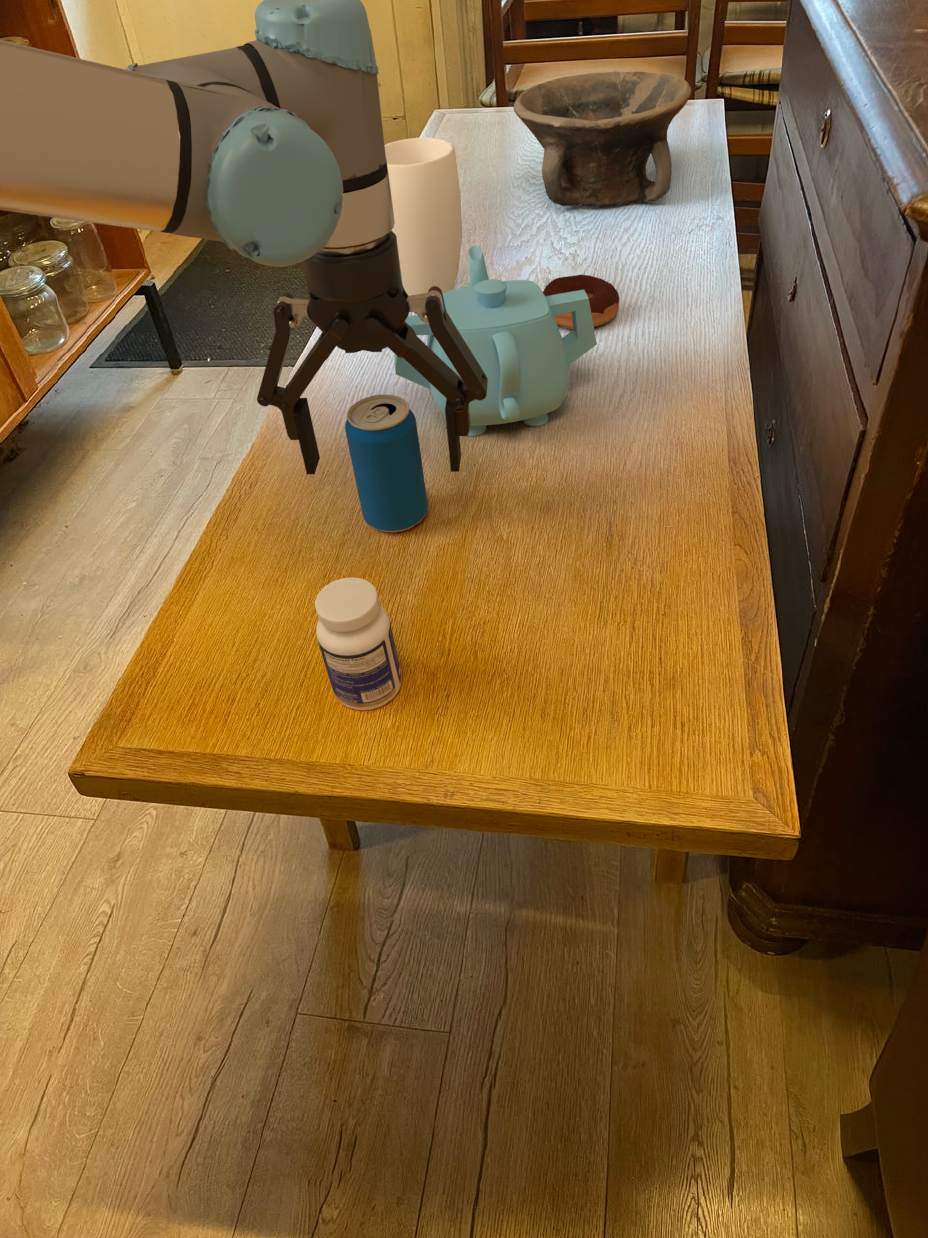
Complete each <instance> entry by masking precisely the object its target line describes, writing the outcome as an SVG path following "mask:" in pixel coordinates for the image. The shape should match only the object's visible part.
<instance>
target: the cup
mask: <svg viewBox="0 0 928 1238" xmlns="http://www.w3.org/2000/svg"><path fill="white" fill-rule="evenodd" d="M384 145H385V154H386V160H387V167H388V173H389V181H390V189H391V196H392V204H393V212H394V220H395V224H394V227H393V229H392V232H394V233H395V235H396V237H397V245H398V253H399V261H400V269H401V277H402V284H403V287H404V290H405V291H406V293H407V294H408V296H411V295H417V294H424V293H428V291H429V289H430V288H431V287H433V286H437V287H439V288H440V289H441V290H442V293H444V292H447V291H450V290H453V289H456V288H455V287H456V284H457V279H458V275H459V269H460V258H461V249H462V242H463V241H462V239H463V225H462V223H463V222H462V221H463V220H462V196H461V187H460V180H459V170H458V162H457V153H456V148H455V146H454V144H453V143H452V142H450V141H448V140H446V139H444V138H443V139H442V138H437V137H412V138H404V139H400V140H395V141H391V142H389V143H386V144H384Z"/></svg>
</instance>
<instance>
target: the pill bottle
mask: <svg viewBox="0 0 928 1238" xmlns="http://www.w3.org/2000/svg"><path fill="white" fill-rule="evenodd" d="M314 608H315V612H316V615H317V619H318V621H317V623H316V628H315V635H316V639H317V640H316V641H317V643H318V646H319V649H320V653H321V656H322V660H323V663H324V666H325V669H326V673H327V676H328V679H329V682H330V686H331V689H332V693H333V695H334V697H335V699H336V700H337V701H338V702H339V703H340V704H342V705H343V706H345V707H347V708H349V709H351V710H357V711H370V710H371V711H372V710H375V709H378V708H381V707H383V706H385V705H386V704H388V703H389V702H391V701H392V700H393V699H394V698H395V697H396V696H397V694H398V693H399V692H400V689H401V687H402V681H403V675H402V669H401V665H400V659H399V655H398V650H397V646H396V642H395V637H394V633H393V628H392V623H391V620H390V619H391V618H390V617H389V614H388V612H387V610H386V609H385V608H384V606H382V605H381V602H380V599H379V595H378V591H377V589H376V587H375V585H374V584H372V582H370V581H368V580H367V579H364V578H361V577H354V576H353V577H351V576H350V577H342V578H339V579H336V580H333V581H331V582H330V583H327V584H326V585H325V586H323V588H321V590H320V591H319V592H318V594H317V595H316V597H315V601H314Z"/></svg>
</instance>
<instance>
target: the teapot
mask: <svg viewBox="0 0 928 1238" xmlns="http://www.w3.org/2000/svg"><path fill="white" fill-rule="evenodd" d="M468 265H469V281H468V285H467V286H463V287H458V288H454V289H453V290H450V291H447V292H444V293H443V298H444V302H445V307H446V312H447V313H448V315H449V317H450V318H451V320H452V321H453V323H454V325H455V326H456V328H457V329H458V331H459V333H460V334H461V336H462V337H463V339H464V341H465V342H466V344H467V346H468V347H469V349H470V350H471V352H472V354H473V355H474V357H475V358H476V360H477V362H478V363H479V365H480V367H481V368H482V370H483V371H484V373H485V375H486V376H487V378H488V385H487V394H486V398H485V399H483V400H481V401H480V400H473V401H471V402H470V403H469V413H470V429H469V433H468V436H467V437H476V436H479V435H482V434H484V433H485V432H486V430H487V426H491V425H493V426H494V425H501V424H509V423H515V422H521V421H522V422H523V423H524V424H525V425H527V426H531V427H539V426H543V425H545V424H547V423H548V422H549V419H550V417H549V416H548V413H551V412H555V410H557V409H559V408H560V407H561V405H562V404H563V402H564V400H565V398H566V397H567V394H568V392H569V387H570V372H569V371H570V369H569V366H571V365H573V364H574V363H575V362H576V361H577V360H579V359H580V358H581V357H582V356H584V355H585V354H586V353H588V352H589V351H590V350H592V349H593V348H595V347H596V346H597V344H598V343H597V338H596V332H595V327H594V326H593V320H592V315H591V309H590V303H589V298H588V296H587V294H586V292H585V290H579V291H573V292H567V293H562V294H556V295H550V296H545V295H544V294H543V290H542V289H541V287H540V285H538V284H537V283H536V282H535V281H533V280H527V279H513V280H501V279H496V278H495V279H494V278H491V279H490V278H489V274H488V271H487V266H486V261H485V256H484V253H483V251H482V248H480V247H479V246H478V245H472V246H471V247H469V249H468ZM570 312H572V319H573V329H572V330H571V331H570V332H568V333H567V334H565V335H564V336H563V337H562V333H561V331H560V328H559V325H558V324H557V322H556V320H555V316H559V315H562V314H566V313H570ZM405 322H406V323H407V324H408V325H409V326H410V327H412V329H413V330H414V332H415V334H416V336H427V338H426V345H427V346H428V347H429V348H430V349H431V350H432V351H433V352H434V353H435V354H436V355H437V356H438V357H439V358H440V359H441V360H442V361H443V362H444V363H446V364H447V365H448V366H449V367H450V368H451V369H452V370H453V371H454V372H455V373H456V374H457V375H458V376H459V377H460V375H459V374H458V372H457V371H456V369H455V368H454V366H453V364H452V363H451V361H450V360H449V358H448V357H447V355H446V354H445V352H444V350H443V349H442V347H441V346H440V344H439V343H438V341H437V339H436V338H435V336H434V335H433V333H432V331H431V328H430V326H429V322H427V323H424V322H423V321H422V320H421V319H420V318H419V316H418V315H417V314H414V315H413V314H412V315H408V317H407V319H406V320H405ZM393 364H394V372H395V375H397V376H398V377H400V378H404V379H406V380H408V381H410V382H412V383H414V384H416V385H419V386H422V387H423V388H425V389H428V390H429V391H430V394H431V396H432V398H433V401H434V403H435V405H436V407H437V409H438V410H439V412H440V414H441V415H442V416H443V418H444V419H445V420H446V416H445V406H446V400H447V398H446V397H445V396H443V395H442V394H441V393H440V392H439V391H438V390H437V389H436V388H435V387H434V386H433V385H432V384H431V383H430V382H428V381H427V380H426V379H425V378H424V377H423V376H422V375H421V374H420V373H419V372H418V371H417V370H416V369H415V368H413V367H412V366H411V365H410V364H409V363H408V362H407V361H406V360H405V359H404V358H400V357H398V356H397V355H396V354H395V353H394V363H393ZM460 378H461V377H460ZM461 379H462V378H461Z"/></svg>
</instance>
